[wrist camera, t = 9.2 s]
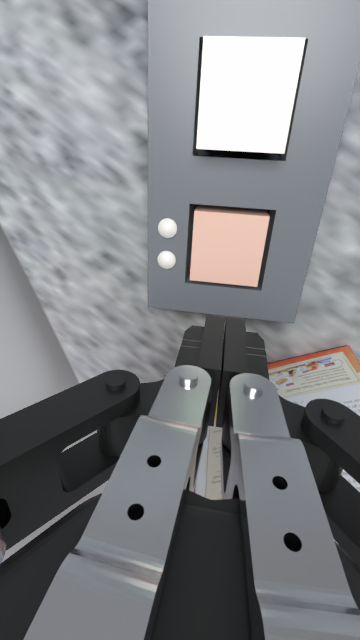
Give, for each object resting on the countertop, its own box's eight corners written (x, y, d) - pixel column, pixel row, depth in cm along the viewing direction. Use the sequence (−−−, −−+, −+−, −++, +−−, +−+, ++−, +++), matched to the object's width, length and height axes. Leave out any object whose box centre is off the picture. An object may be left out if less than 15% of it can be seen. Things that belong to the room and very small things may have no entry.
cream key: (295, 53, 18) (305, 37, 16) (278, 153, 21) (284, 153, 18) (207, 51, 19) (203, 35, 16) (200, 149, 22) (196, 148, 19)
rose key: (265, 209, 24) (269, 216, 21) (254, 273, 27) (257, 286, 24) (198, 204, 25) (194, 210, 22) (193, 267, 27) (189, 280, 24)
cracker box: (223, 416, 35) (212, 703, 17) (205, 374, 33) (170, 654, 14) (359, 392, 31) (541, 737, 13) (350, 342, 29) (557, 677, 10)
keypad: (426, -276, 14) (474, -383, 11) (288, 307, 28) (294, 324, 25) (162, -254, 15) (146, -344, 12) (155, 293, 29) (147, 308, 26)
